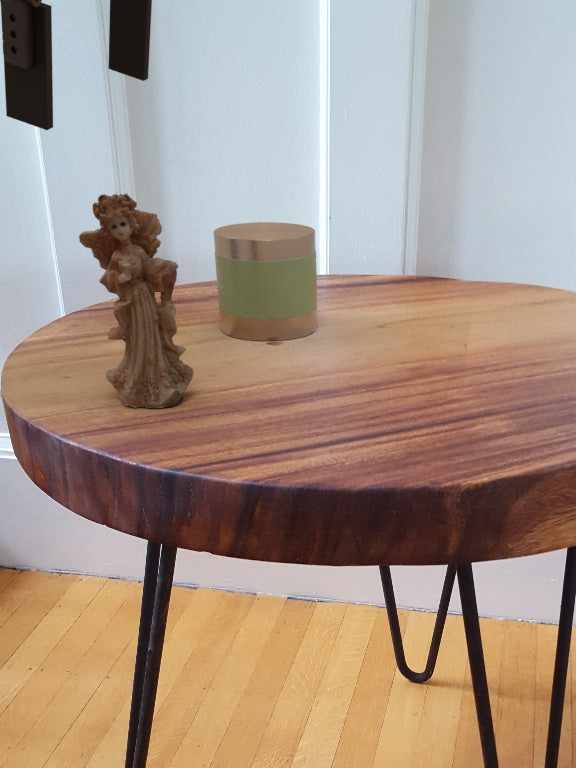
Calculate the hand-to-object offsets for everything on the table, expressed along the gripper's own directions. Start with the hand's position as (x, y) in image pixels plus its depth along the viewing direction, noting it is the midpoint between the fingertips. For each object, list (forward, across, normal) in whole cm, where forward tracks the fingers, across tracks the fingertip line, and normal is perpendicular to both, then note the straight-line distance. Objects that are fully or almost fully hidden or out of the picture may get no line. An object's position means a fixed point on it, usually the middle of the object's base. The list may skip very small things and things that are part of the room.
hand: (82, 96), depth 64 cm
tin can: (+23, +22, -9) cm, 33 cm away
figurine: (+20, -1, -7) cm, 21 cm away
